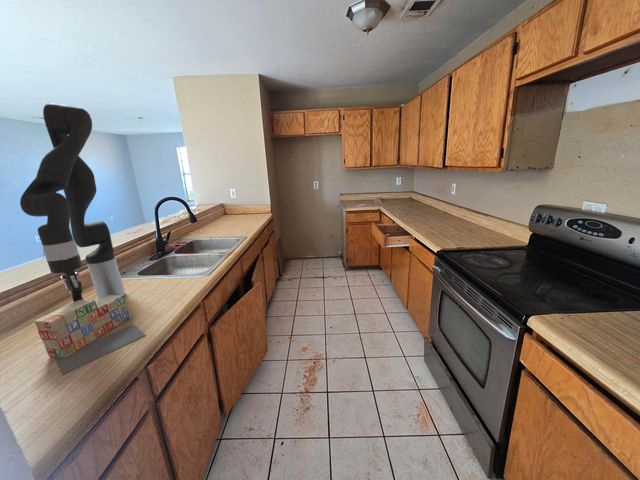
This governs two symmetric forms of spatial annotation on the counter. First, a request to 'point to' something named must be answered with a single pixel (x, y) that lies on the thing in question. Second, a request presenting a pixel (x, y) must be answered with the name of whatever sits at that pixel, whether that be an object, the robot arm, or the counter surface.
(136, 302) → the counter surface
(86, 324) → the stack of blocks
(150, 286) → the counter surface
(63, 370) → the mat
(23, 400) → the counter surface
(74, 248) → the robot arm
